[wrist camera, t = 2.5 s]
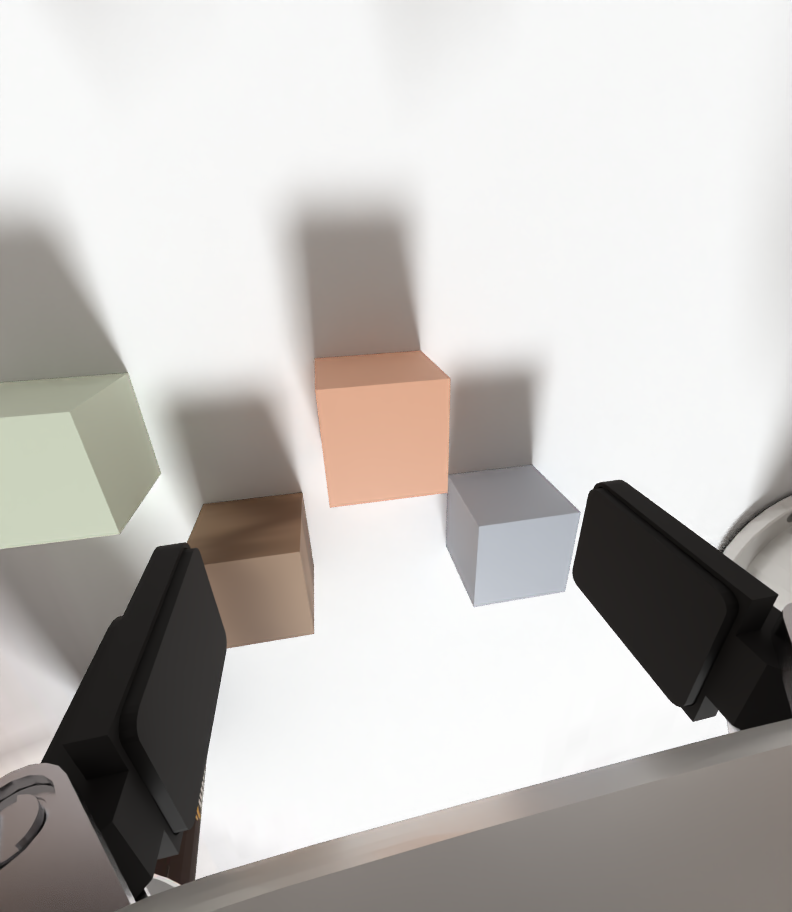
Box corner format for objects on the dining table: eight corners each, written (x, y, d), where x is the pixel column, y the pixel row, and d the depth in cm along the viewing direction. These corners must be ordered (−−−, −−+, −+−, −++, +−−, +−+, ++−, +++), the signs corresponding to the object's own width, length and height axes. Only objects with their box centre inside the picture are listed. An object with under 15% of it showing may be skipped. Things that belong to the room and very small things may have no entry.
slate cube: (531, 463, 24) (580, 512, 20) (522, 534, 26) (565, 591, 22) (447, 474, 23) (479, 526, 19) (445, 545, 26) (473, 607, 21)
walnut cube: (302, 491, 22) (299, 551, 18) (313, 564, 25) (314, 633, 20) (203, 503, 22) (176, 568, 17) (224, 577, 24) (204, 652, 19)
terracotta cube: (420, 349, 20) (450, 378, 16) (420, 444, 22) (447, 492, 18) (314, 357, 19) (315, 390, 15) (326, 454, 22) (329, 507, 17)
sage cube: (128, 372, 18) (69, 411, 14) (161, 472, 20) (119, 534, 16) (0, 382, 18) (-105, 426, 13) (49, 484, 20) (-27, 552, 15)
